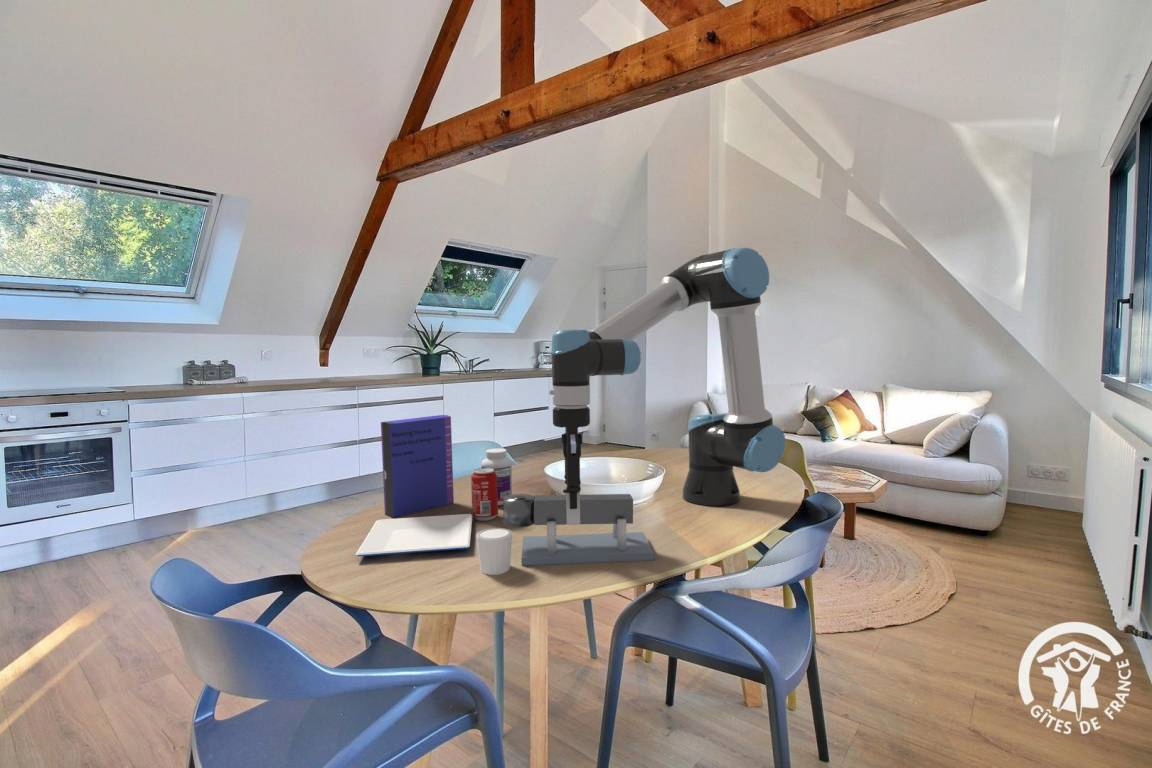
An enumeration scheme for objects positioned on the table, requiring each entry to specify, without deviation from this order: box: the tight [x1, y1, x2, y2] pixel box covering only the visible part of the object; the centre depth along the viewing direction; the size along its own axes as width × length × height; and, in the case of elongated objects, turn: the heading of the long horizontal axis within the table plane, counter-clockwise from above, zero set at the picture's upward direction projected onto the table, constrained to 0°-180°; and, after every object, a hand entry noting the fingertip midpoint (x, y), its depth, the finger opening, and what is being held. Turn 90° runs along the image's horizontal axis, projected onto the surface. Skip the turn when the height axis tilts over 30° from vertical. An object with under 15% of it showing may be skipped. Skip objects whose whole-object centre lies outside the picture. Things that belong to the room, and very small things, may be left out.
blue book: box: [380, 414, 455, 519], centre depth 147 cm, size 17×5×24 cm, turn 135°
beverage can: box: [470, 467, 499, 522], centre depth 138 cm, size 6×6×12 cm
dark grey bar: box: [502, 493, 634, 528], centre depth 114 cm, size 26×6×5 cm, turn 94°
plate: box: [355, 513, 473, 557], centre depth 124 cm, size 22×22×2 cm
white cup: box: [475, 527, 513, 576], centre depth 107 cm, size 7×7×7 cm
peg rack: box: [520, 518, 655, 566], centre depth 115 cm, size 26×12×8 cm, turn 94°
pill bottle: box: [481, 448, 513, 507], centre depth 151 cm, size 8×8×14 cm
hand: (572, 519), depth 115 cm, fingers closed on dark grey bar, 4 cm apart
